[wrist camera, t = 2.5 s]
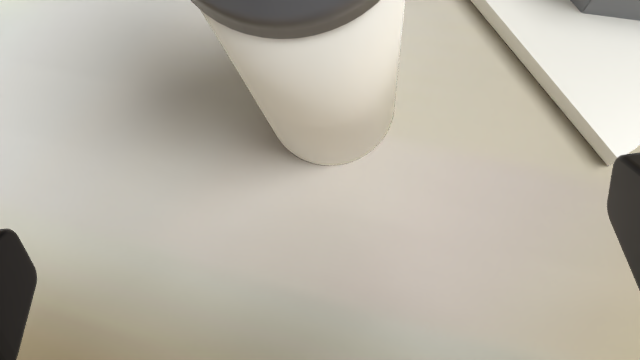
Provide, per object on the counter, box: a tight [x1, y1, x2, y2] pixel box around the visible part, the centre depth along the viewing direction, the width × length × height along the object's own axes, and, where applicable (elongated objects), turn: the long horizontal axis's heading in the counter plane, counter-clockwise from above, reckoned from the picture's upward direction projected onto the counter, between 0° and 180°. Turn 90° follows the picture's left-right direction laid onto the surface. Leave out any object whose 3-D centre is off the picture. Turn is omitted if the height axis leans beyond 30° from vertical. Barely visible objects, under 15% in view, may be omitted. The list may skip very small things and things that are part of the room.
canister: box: [191, 0, 405, 165], centre depth 17 cm, size 5×5×12 cm
